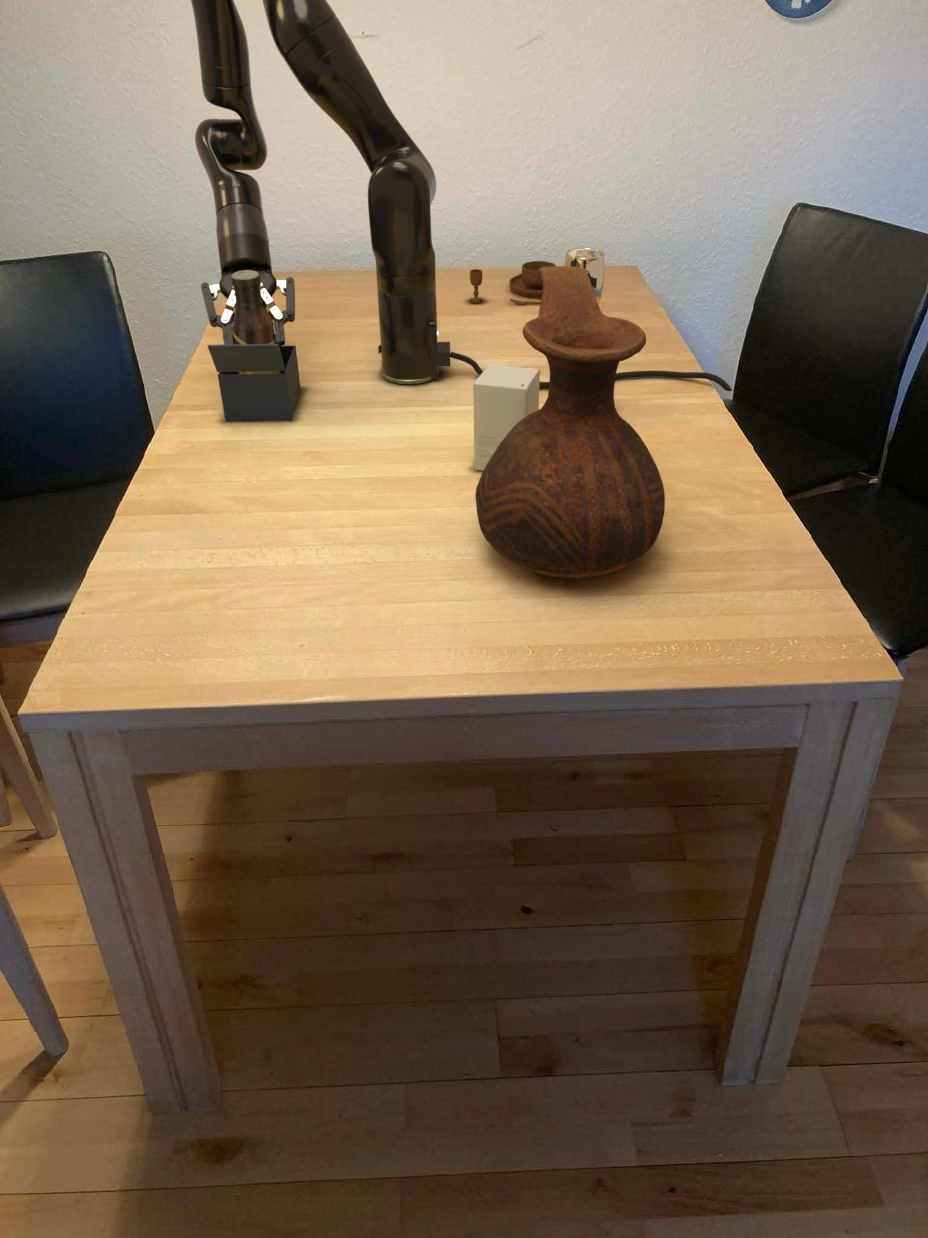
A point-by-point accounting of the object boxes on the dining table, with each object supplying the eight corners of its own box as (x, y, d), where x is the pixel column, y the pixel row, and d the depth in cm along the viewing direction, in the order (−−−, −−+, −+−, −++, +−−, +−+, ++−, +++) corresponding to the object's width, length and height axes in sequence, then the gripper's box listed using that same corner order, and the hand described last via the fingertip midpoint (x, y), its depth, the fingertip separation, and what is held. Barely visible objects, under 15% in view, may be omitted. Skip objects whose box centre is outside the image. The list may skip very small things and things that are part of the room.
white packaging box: (538, 454, 131) (542, 368, 124) (524, 478, 126) (527, 389, 118) (488, 447, 133) (489, 361, 126) (472, 470, 128) (471, 382, 120)
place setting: (571, 304, 183) (572, 273, 179) (468, 304, 183) (468, 274, 179) (564, 277, 197) (566, 248, 193) (469, 277, 197) (469, 248, 193)
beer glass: (597, 347, 164) (604, 259, 155) (557, 344, 165) (562, 257, 156) (600, 333, 170) (607, 248, 161) (562, 331, 171) (567, 246, 162)
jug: (687, 535, 114) (727, 286, 96) (611, 626, 99) (641, 352, 81) (531, 489, 123) (541, 255, 105) (441, 566, 109) (434, 309, 91)
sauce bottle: (245, 395, 148) (225, 266, 136) (285, 393, 148) (268, 265, 136) (241, 412, 142) (220, 280, 131) (282, 411, 143) (265, 278, 131)
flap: (278, 343, 131) (278, 345, 131) (285, 369, 136) (285, 371, 136) (207, 344, 131) (207, 346, 131) (217, 370, 136) (217, 372, 136)
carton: (300, 389, 150) (295, 345, 146) (291, 420, 141) (286, 374, 137) (238, 390, 150) (231, 346, 146) (225, 421, 141) (217, 375, 136)
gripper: (190, 233, 136) (202, 341, 134) (290, 227, 138) (304, 334, 136) (198, 260, 143) (209, 363, 141) (292, 254, 145) (305, 356, 143)
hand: (255, 348), depth 138 cm, fingers closed on sauce bottle, 6 cm apart
